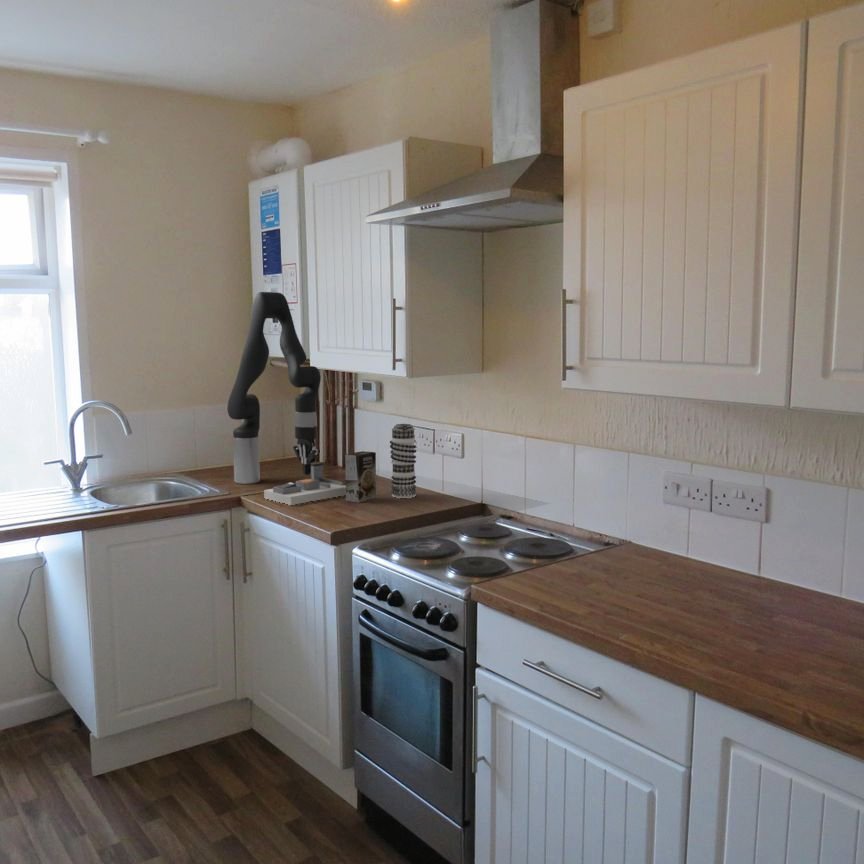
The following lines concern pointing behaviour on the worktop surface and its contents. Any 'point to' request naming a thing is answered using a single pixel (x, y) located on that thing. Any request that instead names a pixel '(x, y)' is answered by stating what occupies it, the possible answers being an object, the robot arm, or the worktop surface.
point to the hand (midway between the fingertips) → (306, 474)
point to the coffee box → (360, 476)
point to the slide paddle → (317, 471)
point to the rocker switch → (287, 485)
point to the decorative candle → (403, 461)
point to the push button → (307, 481)
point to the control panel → (306, 492)
